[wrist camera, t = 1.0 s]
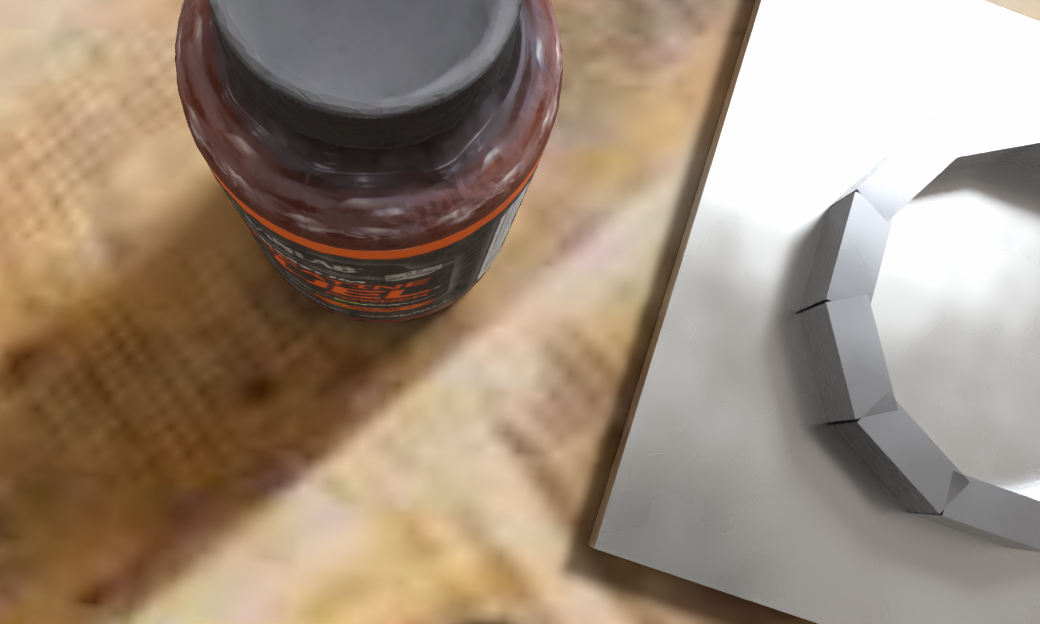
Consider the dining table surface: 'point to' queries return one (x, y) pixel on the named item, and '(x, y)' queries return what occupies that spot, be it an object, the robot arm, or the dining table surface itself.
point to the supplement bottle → (373, 136)
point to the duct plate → (927, 306)
